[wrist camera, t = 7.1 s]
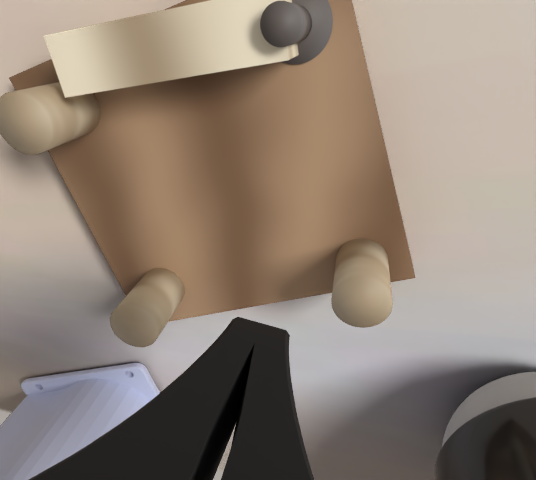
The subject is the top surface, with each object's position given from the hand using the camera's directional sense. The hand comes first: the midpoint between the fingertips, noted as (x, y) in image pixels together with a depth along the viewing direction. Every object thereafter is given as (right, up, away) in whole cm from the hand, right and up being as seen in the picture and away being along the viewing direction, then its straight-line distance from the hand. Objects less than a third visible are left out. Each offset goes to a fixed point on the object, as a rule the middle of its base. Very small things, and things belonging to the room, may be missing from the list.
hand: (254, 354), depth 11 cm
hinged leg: (-2, +10, +5) cm, 12 cm away
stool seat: (-2, +6, +9) cm, 11 cm away
